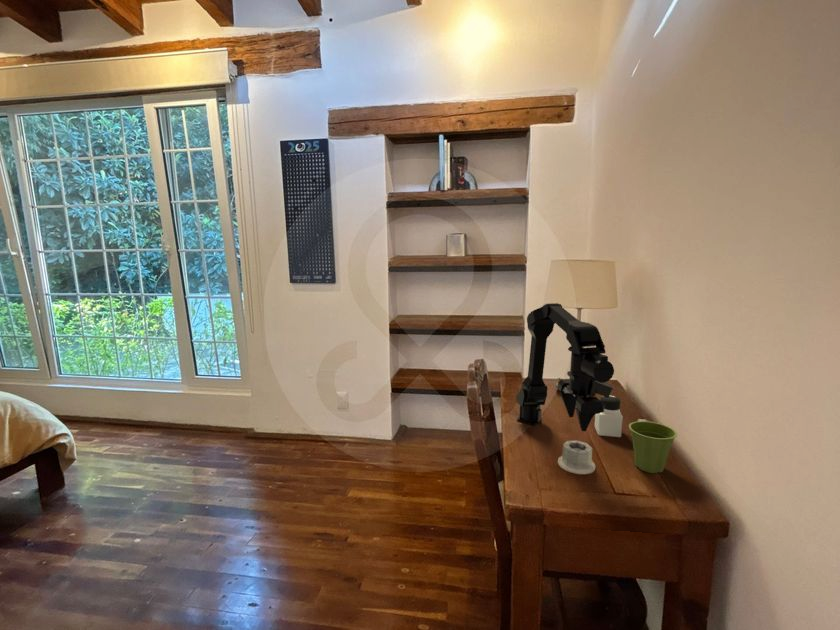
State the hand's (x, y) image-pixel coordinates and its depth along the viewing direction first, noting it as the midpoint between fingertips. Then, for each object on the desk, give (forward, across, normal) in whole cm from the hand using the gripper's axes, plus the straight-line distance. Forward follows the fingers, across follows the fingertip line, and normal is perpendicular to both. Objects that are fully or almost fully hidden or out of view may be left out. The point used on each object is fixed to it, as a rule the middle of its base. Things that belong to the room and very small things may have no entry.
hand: (577, 423), depth 125 cm
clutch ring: (+11, -2, 0) cm, 11 cm away
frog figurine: (+12, +13, -28) cm, 33 cm away
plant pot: (+12, -3, -20) cm, 23 cm away
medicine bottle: (+12, +19, -19) cm, 29 cm away
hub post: (+12, -2, 0) cm, 12 cm away
